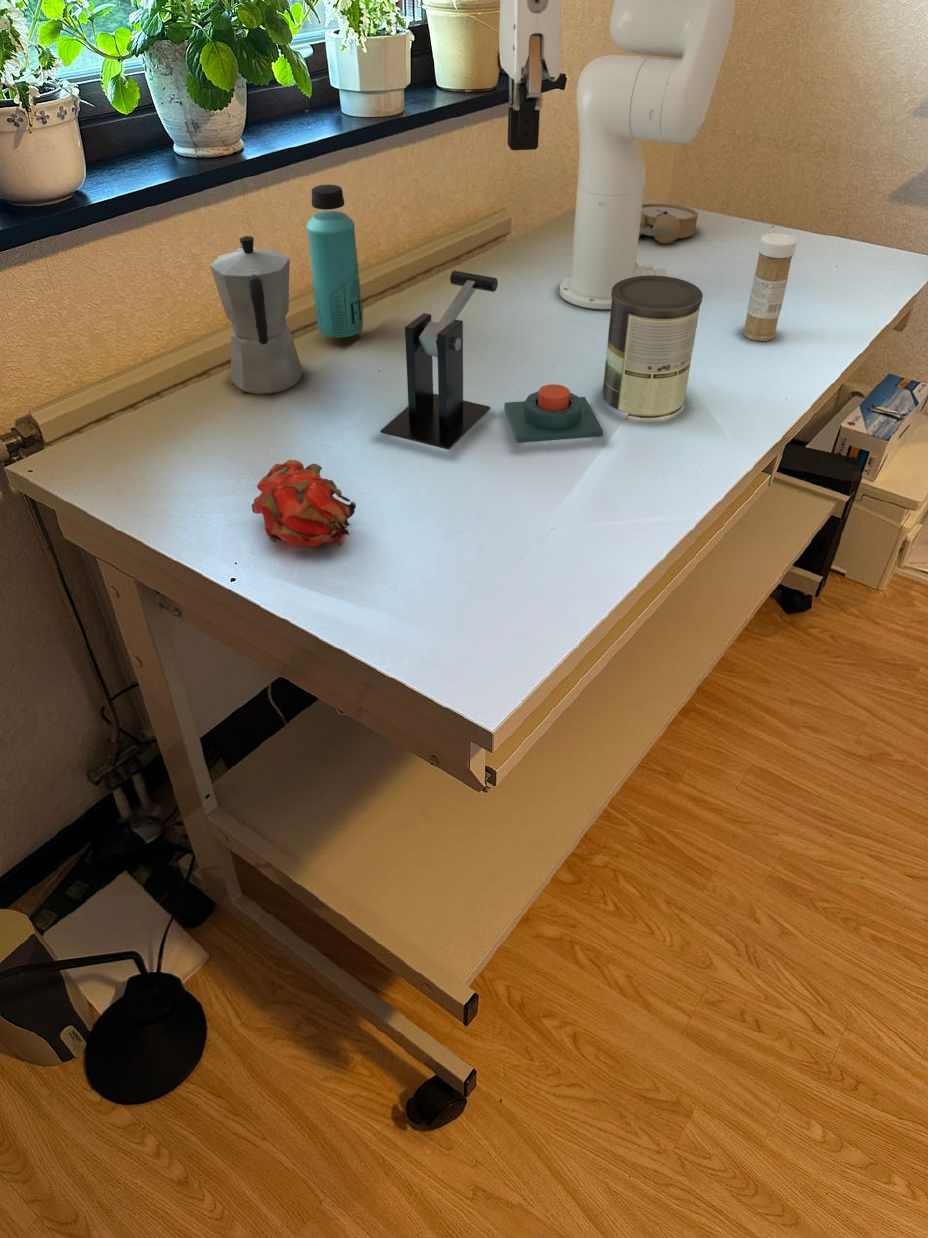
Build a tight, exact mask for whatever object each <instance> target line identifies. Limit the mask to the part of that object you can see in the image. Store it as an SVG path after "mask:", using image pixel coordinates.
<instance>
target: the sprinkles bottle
mask: <svg viewBox="0 0 928 1238" xmlns="http://www.w3.org/2000/svg"><path fill="white" fill-rule="evenodd" d="M796 247H797V239H796V238H795V237H794V236H793V235H790V234H787V233H781V232H770V233H765V234H764V235H762V236H761V238H760V242H759V246H758V257H757V262H756V268H755V273H754V275H753V280H752V286H751V291H750V294H749V300H748V305H747V311H746V312H747V314H746V318H745V322H744V327H743V330H742V334H743V336H745V337H746V338H748V339H750V340H752V341H756V342H768V341H770V340H772V339H775V337H776V335H777V332H776V330H777V327H778V323H779V317H780V315H781V312H782V307H783V302H784V298H785V293H786V290H787V284H788V281H789V271H790V268H791V263H792V258H793V256H794V254H795V252H796Z"/></svg>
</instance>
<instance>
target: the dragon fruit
mask: <svg viewBox="0 0 928 1238" xmlns="http://www.w3.org/2000/svg"><path fill="white" fill-rule="evenodd" d="M322 469H323V467H322V466H321V465H320V464H317V463H311V464H309V465H306V467H304V464H303V463H302V462H301V461H300V460H296V459H288V460H286V461H285V462H284V463H275V464H273V465H272V467H271V468H270V470H269V472H268V473H267V474H266V475H264V476H263V477H262V478H261V479H260V480H259V482H258V483H257V485H256V488H257V490H258V491H260V494H259V495H258V496H257V497H255V498H254V499H253V503H252V504H251V509H252V512H253V513H254V514H261V515H262V517H263V520H264V530H265V533H266V535H267V536H268V538H269V540H270V541H272V542H281V540H282V541H283V542H286V543H288V544H290V545H292V546H293V547H296V546H299V547H313V548H315V547H319V546H321V545H322V544H324V543H326V544H337V545H342V544H343V542H344V541H345V538H346V537H347V536H350V532H349V530H348V529H347V528H348V527H349V526H351V525H352V523H349V522H348V519H350V518H351V517H353V515H354V514H355V512H356V511H355V509H356V508H357V503H356V502H355V501H351V499H349V498H347V497H346V496H343V495H342V494H343V493H342V490H341V489H339V488H338V487H337V485H336V484H335V482H334V480H332V479H328V478H324V477H323V478H322V477H321V470H322ZM333 495H336V496H337V497H338V498H340V499H341V500H343V501H345V502H350V504H348V503H345V502H343V501H340V499H338V498H336V497H335V496H333Z"/></svg>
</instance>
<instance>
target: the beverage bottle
mask: <svg viewBox="0 0 928 1238" xmlns="http://www.w3.org/2000/svg"><path fill="white" fill-rule="evenodd" d="M344 206H345V198H344V192H343V187H341V186H339V185H337V184H320V185H317V186H313V188H312V189H311V207H312V208H314V209H316V210H317V209H318V210H322V211H319V212H317V213H314V215H313V216H312V217H311V218H310V219H309V220H308V222H307V223H306V227H305V229H306V231H307V240H308V250H309V258H310V266H311V267H310V268H311V272H310V273H311V282H312V292H313V293H312V294H313V298H312V299H314V303H315V304H314V307H315V308H314V309H315V311H314V312H315V316H316V318H315V320H316V326H317V329H318V330H319V332H320V333H321V334H322V335H323V336H326V337H329V338H339V339H340V338H348V337H352V336H355V335H358V334H359V333H361V331H363V326H364V323H365V322H364V319H365V318H364V316H363V314H364V308H363V305H362V294H361V292H362V285H361V283H360V275H359V274H360V273H359V264H360V263H359V260H358V250H357V244H356V242H357V241H356V232H355V226H356V225H355V222H354V220H353V219H352V218H351V217H350V216H349V215H348V214H346V213H345V212H343V211H339V210H336V209H340V208H342V207H344ZM323 210H324V211H323Z"/></svg>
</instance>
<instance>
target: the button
mask: <svg viewBox="0 0 928 1238" xmlns="http://www.w3.org/2000/svg"><path fill="white" fill-rule="evenodd" d="M538 391H539V393H538V406H539V407H540V408H542V409H543V410H549V411H561V410H564V409H567V408H568V406H569V396H570V393H571V391H570V389H569V388H568V387H566V386H564V385H561V384H555V383H550V384H545V385H543V386H541V387H540V388H539V389H538Z"/></svg>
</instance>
